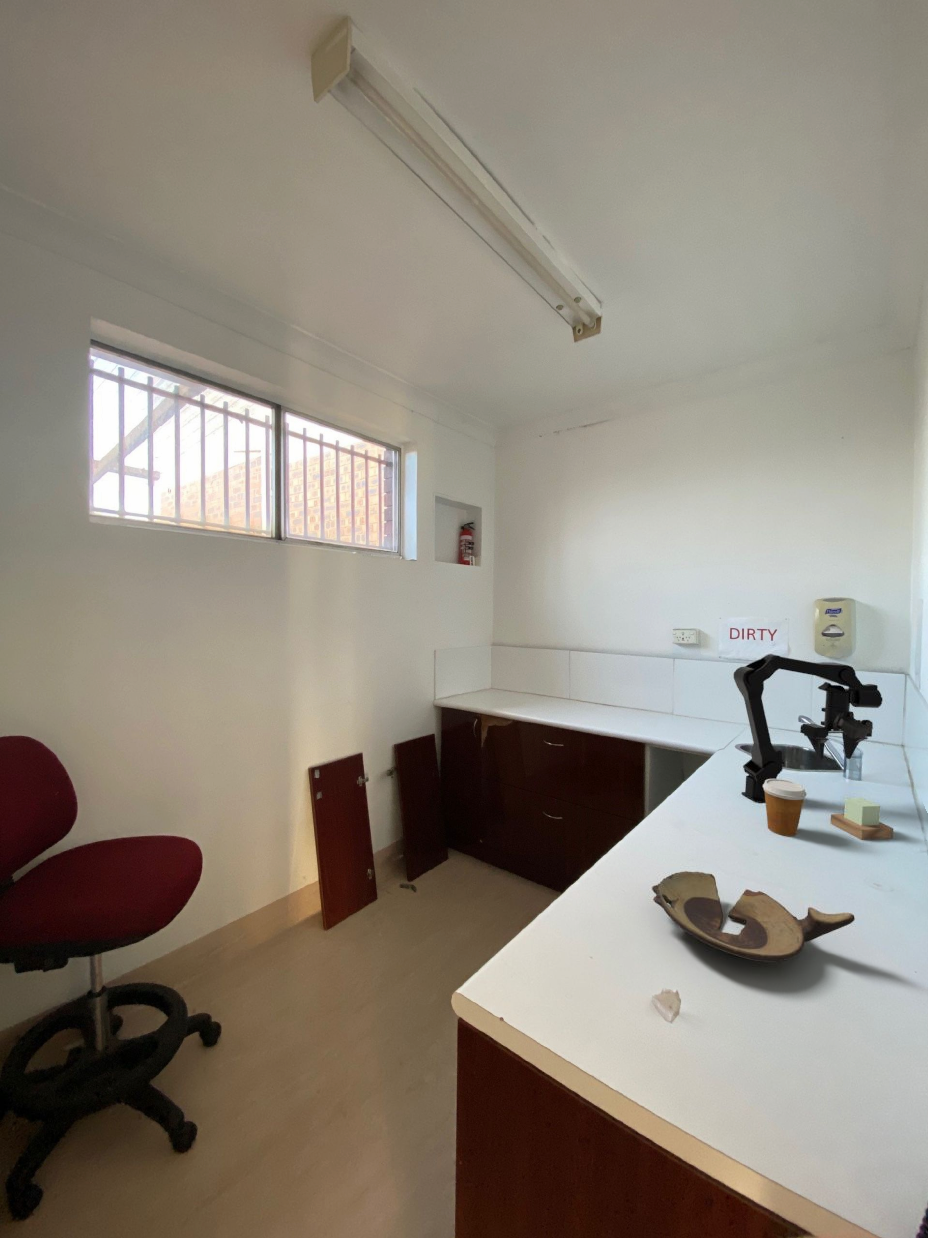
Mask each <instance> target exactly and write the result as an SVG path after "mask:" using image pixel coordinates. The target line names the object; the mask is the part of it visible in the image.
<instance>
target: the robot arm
mask: <svg viewBox="0 0 928 1238" xmlns="http://www.w3.org/2000/svg"><path fill="white" fill-rule="evenodd" d="M778 670H782V671H783V670H785V671H789V672H794V673H800V674H803V675H804V674H805V675H809V676H815V677H817V678H819V679H824V680H826V681H824V682H823V684H821V685H819V686H818V687H817V689H818V690H820V691H823V692H825V702H824V703H825V705H824V706H825V707H821V712H823V713H824V721H820V724H817V723H814V722H813V723H802V724H801V725H800V730H799V731H800V733H801V734H803V735H804V736H805V737H807V739H808V740H809V743H810V744H811V746H812V747H813V750H814V753H815V755H816V757H817V758H818V760H821V761H823V759H824V752H825V745H826V742H828V741H829V739H830V738H827V737H828V736H829V734H842V742H843V750H844V755H845V758H846V759H847V760H850V759H851V758H852V757H853V754H854V752H855V751H856V749H857V747H858V746H859V744H860V743H861V742H862V741H865V740H868V739H869V737H870V738H871V737H872V736H873V729H874V726H873V725H874V724H873V721H872V720H870V719H862V720H861V719H856V718H855V715H854V714H855V713H854V712H853V711H851V710H850V707H854V708H866V709H867V708H868V709H869V708H870V709H878V708H881V705H882V704H883V697H882V694H881V692H880V690H879V689H878V685H876V684H872V683H867V684H864V683H863V684H862V682H861V681H860V680H859V678H858V677H857V674H856V671H855V669H854V667H853V666H851V665H848V664H844V663H838V662H833V661H832V662H831V661H830V662H829V661H828V662H827V661H825V662H821V661H820V662H813V661H812V662H811V661H806V660H800V659H796V658H791V657H785V656H780V655H777V654H773V653H769V654H766V655H764V656H763V657H762V658H760V659H758V660H755V661H752V662H751V663H748V664H747V665H745V666H739V667H738V668H736V670H735V671H734V672H733V680H734V682H735V685H736V687H737V689H738V691H739V692H740V694H741V695H742V697H743V699H744V700H743V701H744V705H745V708H746V713H747V714H746V715H747V719H748V724H749V726H750V727H749V729H750V733H751V737H752V741H753V743H752V744H753V745H752V749H751V758H750V760H748V761H747V762H746V763H745V764H743V765H742V768H743V771H744V773H745V774H747V775H746V776H745V787H744V788H745V791H741V795H742V796H744V797H746V798H748V799H750V801H753V802H755V803H766V801H765V791H764V788H763V784H764V783H765V781H766V780H767V779H778V778H777V777H778V776H779V775H780V774H781V772H782V771H783V765H785V764H786V763H785V762H784V760H783V753H782V749H781V750H780V748H777V747H776V746H774V745H773V743H772V739H771V734H770V731H769V727H768V722H767V721H768V720H767V717H766V712H765V709H764V703H763V697H762V696H763V694H764V693H763V692H764V689H765V683H764V682H765V681H767V680H768V679H770V678H771V677H772V676H773V675H774V673H776V672H777V671H778ZM827 681H829V682H827ZM830 682H831V683H830ZM832 683H835V684H832ZM836 684H837V685H836ZM845 687H847V688H845ZM850 705H851V706H850Z"/></svg>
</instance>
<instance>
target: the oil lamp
mask: <svg viewBox="0 0 928 1238" xmlns="http://www.w3.org/2000/svg"><path fill="white" fill-rule="evenodd" d="M651 890H652V892H654V894H655V896H653V898H652V900H653V902H655V904H657V905H658V906H660V907H661V908H662V910H663V911H664V912H665V913H666V915H667V916H668V917H669V918H670V919H671V920H672V921H673V922H674V923H675V924H676V925H677V926H678V927H679V928H680V929H682V930H683V931H684V932H686V933H688V934H689V935H691V936H692V937H693V938H696V939H697V940H699V941H701V942H703V943H704V944H706V945H709V946H711V947H713V948H715V949H717V950H720V951H722V952H725V953H727V954H731V955H733V956H737V957H739V958H744V959H747V960H750V961H756V962H757V961H758V962H767V963H773V962H775V963H776V962H783V961H787V960H790V959H792V958H794V957H796V956H797V955H799V953H801V952H802V950H803V948H804V946H805V943H808V942H810V941H814V939H817V938H820V937H822V936H824V935H826V934H829V933H832V932H834V931H836V930H839V929H842V928H844V927H846V926H848V925H851V924H852V923H853V922H854V921H855V919H856V918H855V915H854V914H853V913H850V912H839V913H825V912H822V911H819V910H818V909H815V908H813V907H811V906H809V907H808V908H807V915H806V916H805V917H804V918H801V919H800V918H799V919H798V918H797V916H795V915H793V914H792V913H791V912H790V911H789V910H788V909H787V908H786V907H785V906H784V905H782V904H781V903H780V902H778V900H776V899H774V898H773V897H771V896H770V895H768V894H767V893H765V892H763V891H761V890H759V891H753V890H751V889H747V888H746V889H745V890H744V892H743V893H742V894H741V896H740V898H739V899H738V900H736V902H735V904H734V905H733V906H732V908H731V909H730V910H729V911H728V913H727V914H726V915H727V918H729V919H730V920H733V921H735V922H739V923H746V924H745V925H744V927H743V928H742V929H740V932H739V933H738V934H735V933H729V932H723V931H720V930H719V929H720V927H721V926H722V925H723V922H724V921H723V920H724V913H723V907H722V904H721V899H720V896H719V890H718V887H717V882H716V877H715V876H714V875H713V874H712V873H706V872H702V871H701V872H700V871H685V870H684V871H678V872H674V873H672V874H671V875H668V876H666V877H664V878H663V879H662V880H661V881H660V882H659V883H658V884H655V885H652V886H651ZM736 928H739V927H738V926H736Z"/></svg>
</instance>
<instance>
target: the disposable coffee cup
mask: <svg viewBox="0 0 928 1238" xmlns="http://www.w3.org/2000/svg"><path fill="white" fill-rule="evenodd" d="M763 788H764V791H765V801H766V802H765V808H766V809H765V811H766V813H765V814H766V824H767V829H768V830H769V831H770V832H771V833H774V834H777V835H780V836H785V837H794V836H796V835H798V834H797V832H798V829H799V824H800V819H801V815H802V809H803V805H804V799H806V796H807V794H808V793H807V792H806V789H805V786H803V785H801V784H800V783H797V782H794V781H791V780H787V779H782V778H776V779H767V780H766V781H765V783H764V784H763Z"/></svg>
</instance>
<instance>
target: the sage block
mask: <svg viewBox="0 0 928 1238" xmlns="http://www.w3.org/2000/svg"><path fill="white" fill-rule="evenodd" d="M880 809H881V805H879V804H876V803H875V802H872V801H871V800H868V799H866V798H863V797H852V798H845V800H844V813H843V814H844V817H845V818H847V819H849V820H851V821H853V822H855V823H857V824H859V825H861V826H869V825H879V822H880V811H881V810H880Z"/></svg>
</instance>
